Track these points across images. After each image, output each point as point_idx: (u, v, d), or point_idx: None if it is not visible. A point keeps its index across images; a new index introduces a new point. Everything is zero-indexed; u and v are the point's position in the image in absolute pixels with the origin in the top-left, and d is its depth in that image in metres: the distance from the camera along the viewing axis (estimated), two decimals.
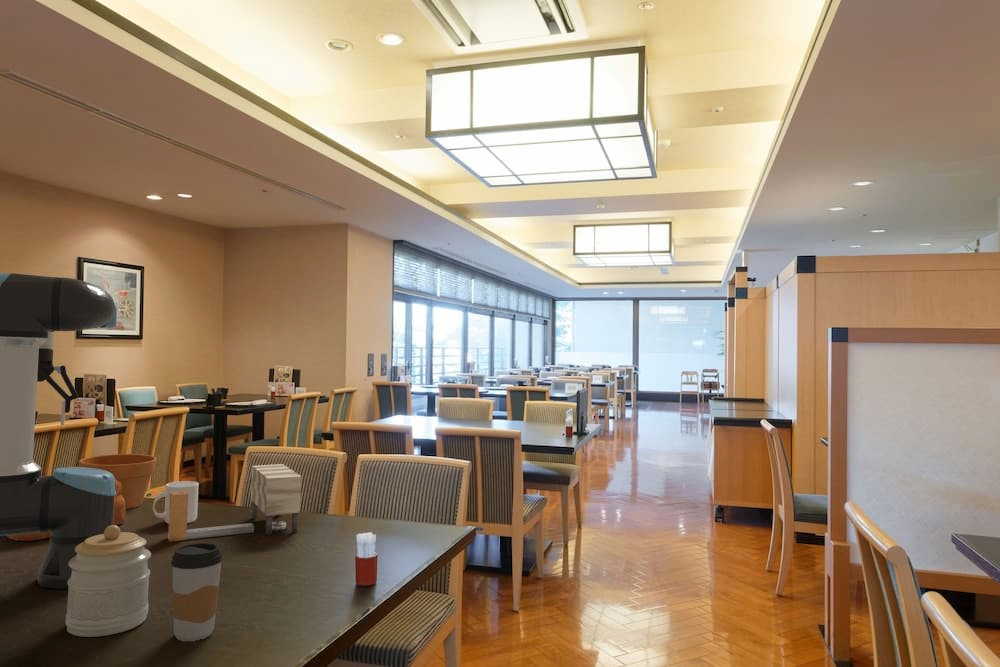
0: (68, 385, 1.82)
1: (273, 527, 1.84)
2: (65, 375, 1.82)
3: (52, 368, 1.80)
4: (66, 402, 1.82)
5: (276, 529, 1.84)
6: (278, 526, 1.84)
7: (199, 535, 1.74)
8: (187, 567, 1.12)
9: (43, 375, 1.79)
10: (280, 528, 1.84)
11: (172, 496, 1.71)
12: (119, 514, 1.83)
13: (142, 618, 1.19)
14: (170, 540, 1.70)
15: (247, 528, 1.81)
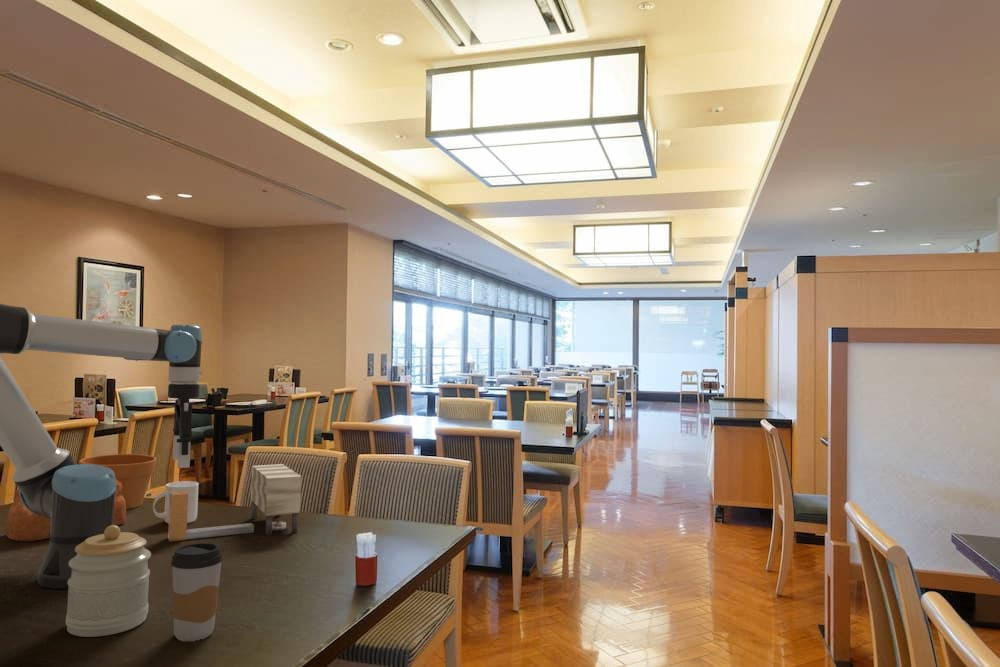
0: (180, 425, 1.67)
1: (273, 527, 1.84)
2: (180, 414, 1.68)
3: (180, 405, 1.70)
4: (182, 443, 1.67)
5: (276, 529, 1.84)
6: (278, 526, 1.84)
7: (199, 535, 1.74)
8: (187, 567, 1.12)
9: (176, 412, 1.72)
10: (280, 528, 1.84)
11: (172, 496, 1.71)
12: (119, 514, 1.83)
13: (142, 618, 1.19)
14: (170, 540, 1.70)
15: (247, 528, 1.81)
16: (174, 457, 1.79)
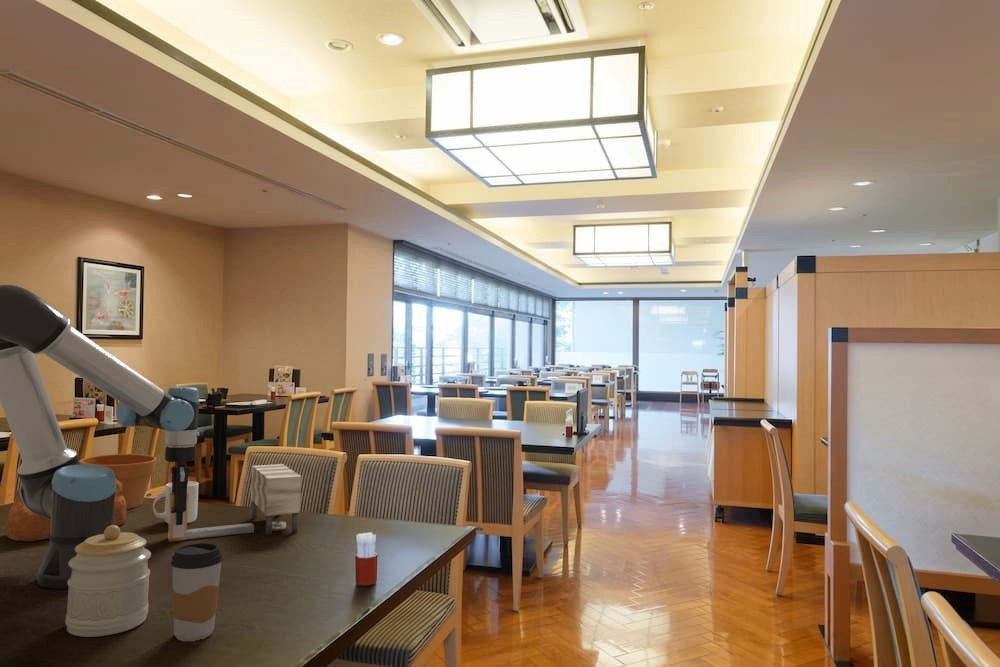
0: (176, 495, 1.69)
1: (273, 527, 1.84)
2: (176, 484, 1.68)
3: (177, 471, 1.70)
4: (176, 513, 1.70)
5: (276, 529, 1.84)
6: (278, 526, 1.84)
7: (199, 535, 1.74)
8: (187, 567, 1.12)
9: (173, 476, 1.72)
10: (280, 528, 1.84)
11: (172, 496, 1.71)
12: (120, 514, 1.83)
13: (142, 618, 1.19)
14: (170, 540, 1.70)
15: (247, 528, 1.81)
16: None
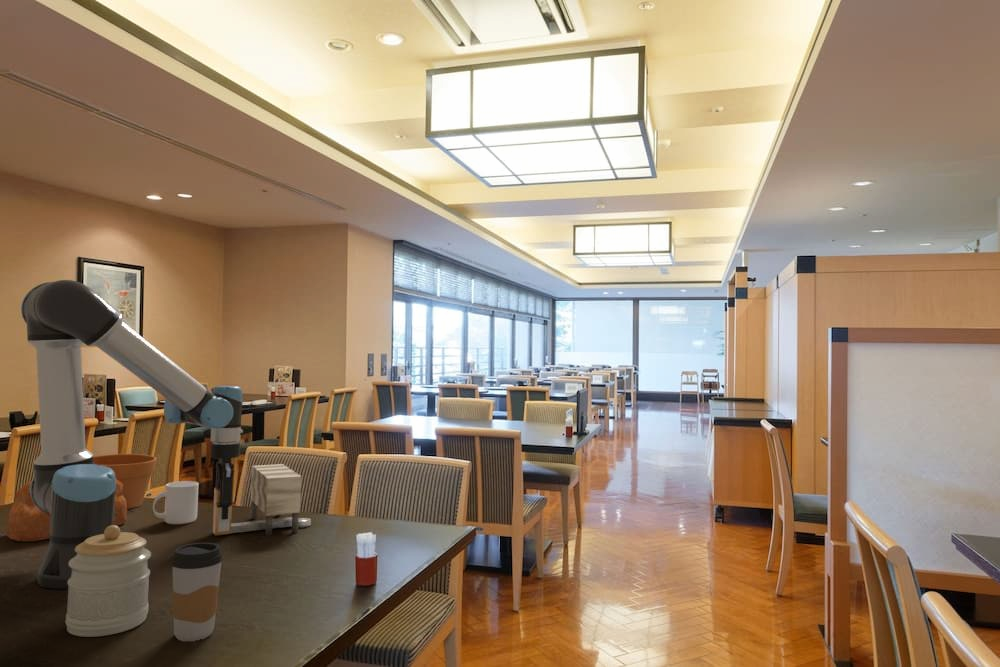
0: (222, 490, 1.74)
1: (299, 523, 1.87)
2: (223, 480, 1.74)
3: (223, 467, 1.76)
4: (222, 508, 1.76)
5: (302, 525, 1.88)
6: (303, 523, 1.88)
7: (243, 529, 1.80)
8: (187, 567, 1.12)
9: (218, 472, 1.77)
10: (305, 524, 1.88)
11: (217, 491, 1.76)
12: (120, 514, 1.83)
13: (142, 618, 1.19)
14: (216, 534, 1.76)
15: (288, 522, 1.86)
16: None
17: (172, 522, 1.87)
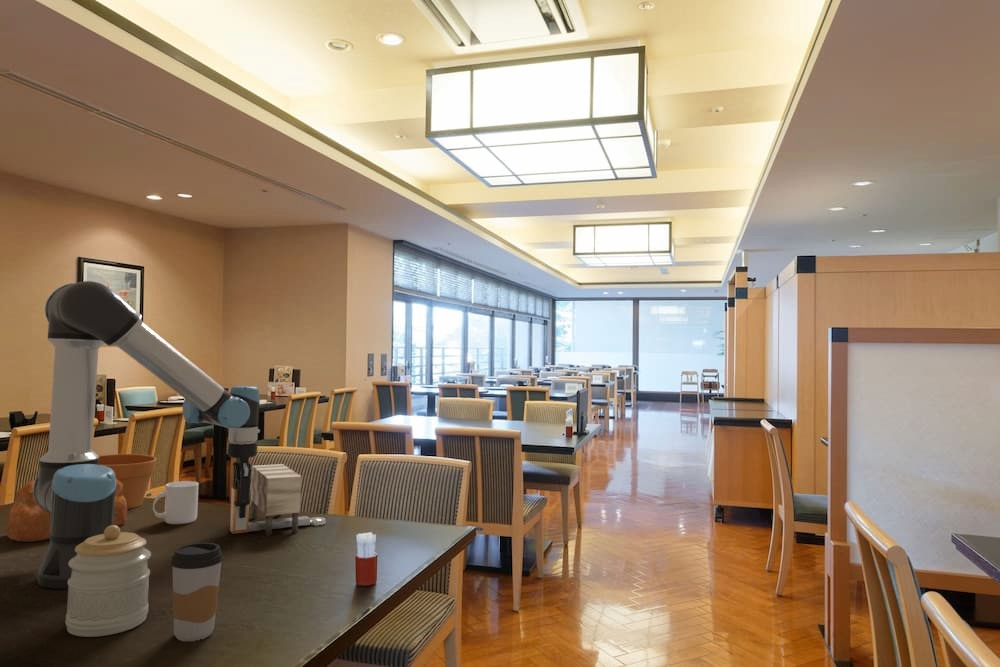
0: (239, 489, 1.77)
1: (315, 523, 1.90)
2: (240, 479, 1.76)
3: (240, 466, 1.78)
4: (239, 507, 1.78)
5: (317, 524, 1.90)
6: (319, 522, 1.90)
7: (259, 528, 1.82)
8: (187, 567, 1.12)
9: (235, 471, 1.80)
10: (321, 523, 1.91)
11: (235, 490, 1.79)
12: (121, 514, 1.83)
13: (142, 618, 1.19)
14: (233, 532, 1.78)
15: (303, 521, 1.89)
16: None
17: (172, 522, 1.87)
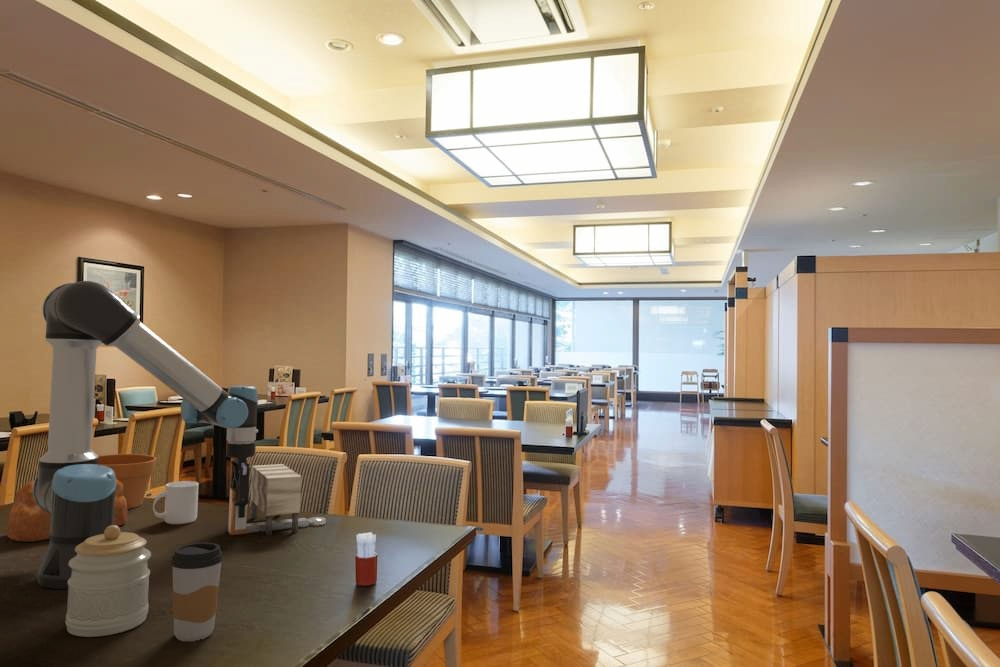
0: (238, 488, 1.76)
1: (315, 522, 1.90)
2: (239, 477, 1.75)
3: (239, 465, 1.78)
4: (239, 506, 1.77)
5: (318, 524, 1.90)
6: (319, 522, 1.90)
7: (257, 529, 1.82)
8: (187, 567, 1.12)
9: (234, 471, 1.79)
10: (321, 523, 1.91)
11: (233, 491, 1.78)
12: (121, 514, 1.83)
13: (142, 618, 1.19)
14: (231, 533, 1.78)
15: (302, 522, 1.88)
16: None
17: (172, 522, 1.87)
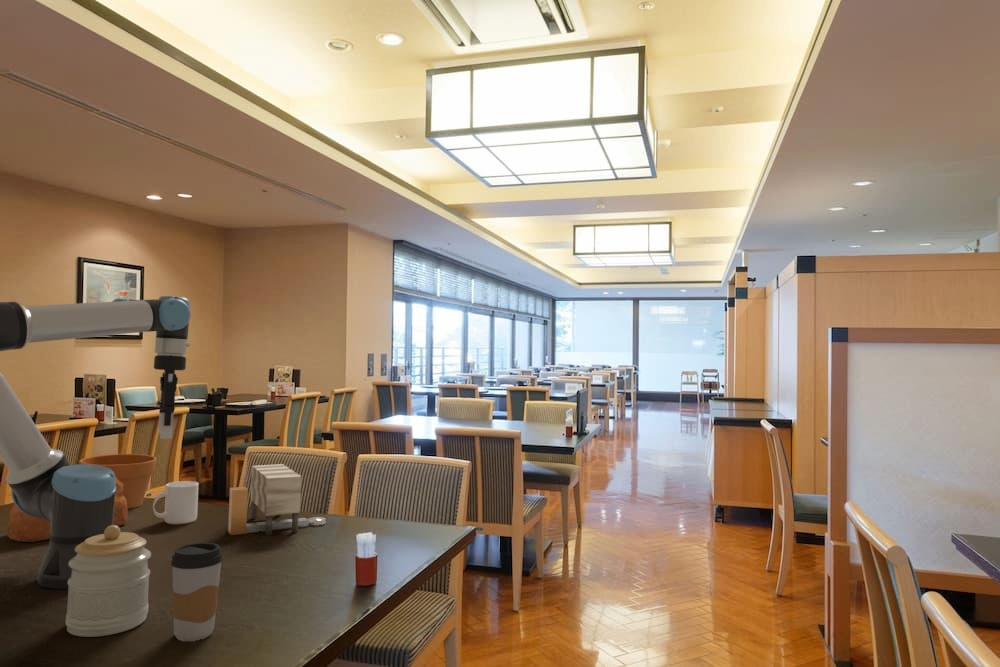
0: (164, 395, 1.66)
1: (315, 523, 1.90)
2: (164, 384, 1.67)
3: None
4: (164, 414, 1.66)
5: (318, 524, 1.90)
6: (319, 522, 1.90)
7: (257, 529, 1.82)
8: (187, 567, 1.12)
9: (161, 383, 1.71)
10: (321, 523, 1.91)
11: (233, 491, 1.78)
12: (121, 514, 1.83)
13: (142, 618, 1.19)
14: (231, 533, 1.78)
15: (302, 522, 1.88)
16: (159, 430, 1.78)
17: (172, 522, 1.87)
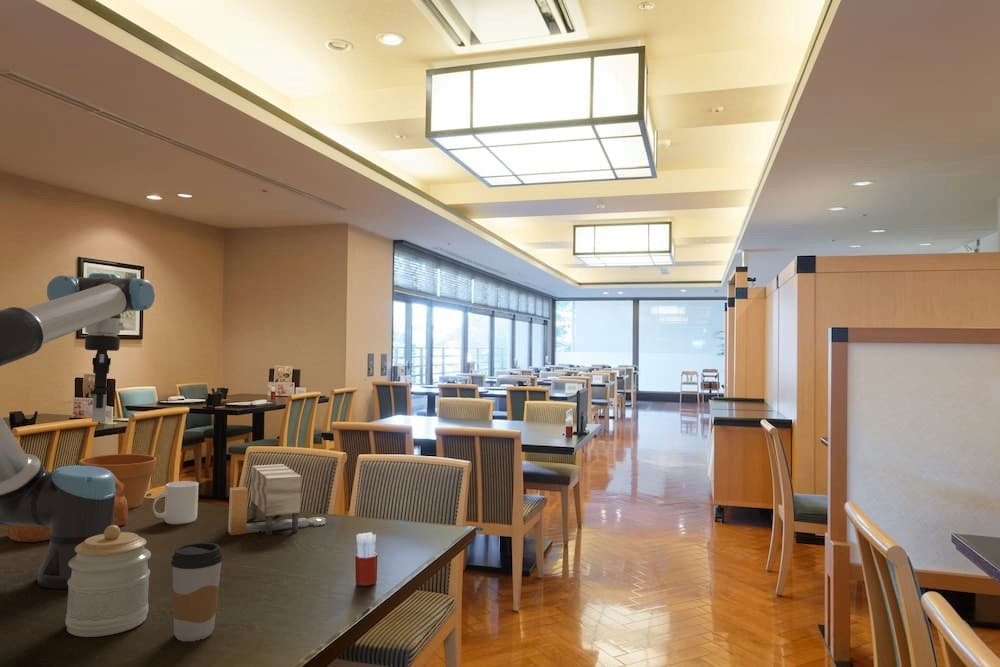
0: (95, 376, 1.59)
1: (315, 522, 1.90)
2: (95, 365, 1.60)
3: None
4: (96, 396, 1.59)
5: (318, 524, 1.90)
6: (319, 522, 1.90)
7: (257, 529, 1.82)
8: (187, 567, 1.12)
9: (93, 364, 1.64)
10: (321, 523, 1.91)
11: (233, 491, 1.78)
12: (121, 514, 1.83)
13: (142, 618, 1.19)
14: (231, 533, 1.78)
15: (302, 522, 1.88)
16: None
17: (172, 522, 1.87)
